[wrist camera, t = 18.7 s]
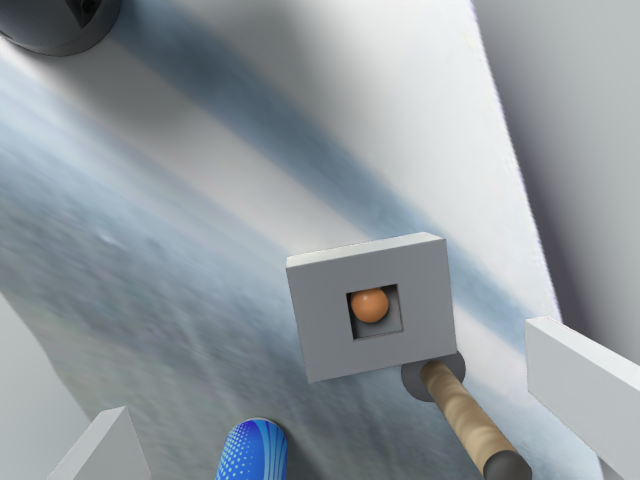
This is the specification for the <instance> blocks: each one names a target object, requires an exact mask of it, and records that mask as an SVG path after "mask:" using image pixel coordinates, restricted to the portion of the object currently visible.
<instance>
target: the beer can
mask: <svg viewBox="0 0 640 480" xmlns="http://www.w3.org/2000/svg"><path fill="white" fill-rule="evenodd" d="M286 463H287V440H286V437H285V435H284V433H283V431H282V430H281V429H280V428H279V427H278V426H277V425H276V424H275V423H274V422H272V421H271V420H269V419H266V418H260V417H256V418H250V419H247V420H245V421H243V422H242V423H240V424H238V425H237V426H235V427H234V428H233V429H232V430H231V431H230V433H229V434H228V436H227V438H226V441H225V445H224V448H223V452H222V455H221V459H220V463H219V466H218V470H217V474H216V477H215V480H286Z"/></svg>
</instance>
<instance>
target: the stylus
mask: <svg viewBox="0 0 640 480" xmlns="http://www.w3.org/2000/svg"><path fill="white" fill-rule="evenodd" d="M420 378H421V381H422V382H423V384H424V385H425V387H426V388H427V390H428V392H429V393H430V395H431V396H432V398H433V399H434V401H435V402H436V404H437V406H438V407H439V409H440V410H441V412H442V413H443V415H444V416H445V418H446V420H447V421H448V423H449V424H450V426H451V427H452V429H453V431H454V432H455V434H456V435H457V437H458V438H459V440H460V441H461V443H462V445H463V446H464V448H465V449H466V451H467V452H468V454H469V455H470V457H471V459H472V460H473V462H474V463H475V465H476V466H477V468H478V470H479V471H480V473H481V474H482V476H483V477H484V479H485V480H532V470H531V468H530V466H529V465H528V464H527V462H526V461H525V460H524V459H523V458H522V456H521V455H520V454H519V453H518V452H517V450H516V449H515V448H514V447H513V446H512V444H511V443H510V442H509V441H508V440H507V438H506V437H505V436H504V435H503V434H502V432H501V431H500V430H499V429H498V428H497V426H496V425H495V424H494V423H493V421H492V420H491V419H490V418H489V417H488V415H487V414H486V413H485V412H484V411H483V409H482V408H481V407H480V406H479V405H478V403H477V402H476V401H475V400H474V399H473V397H472V396H471V395H470V394H469V393H468V391H467V390H466V389H465V388H464V387H463V385H462V384H461V383H460V382H459V381H458V379H457V378H456V377H455V376H454V375H453V373H452V372H451V371H450V370H449V369H448V367H447V366H446V365H445V364H444V363H443V362H441V361H437V360H434V361H430V362H428V363H426V364H425V365H424V366H423V367H422V369H421V372H420Z"/></svg>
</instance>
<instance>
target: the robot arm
mask: <svg viewBox="0 0 640 480" xmlns="http://www.w3.org/2000/svg"><path fill="white" fill-rule="evenodd" d="M120 4H121V0H0V36H2V37H4V38H6V39H8V40H10V41H12V42H13V43H15V44H17V45H19V46H21V47H23V48H25V49H28V50H30V51H33V52H36V53H40V54H44V55H51V56H66V55H72V54H76V53H80V52H82V51H85V50H87V49H89V48H91V47H92V46H94V45H95V44H97V43H98V42H99V41H100V40H102V39H103V38H104V37H105V35H106V34H107V33H108V32H109V30H110V29H111V27H112V26H113V24H114V22H115V20H116V18H117V15H118V12H119V9H120ZM525 341H526V362H527V384H528V392H529V393H530V394H531V395H532V396H533V397H535V398H536V399H537V400H538V401H539V402H540V403H541V404H542V405H543V406H544V407H546V408H547V409H548V410H549V411H550V412H551V413H552V414H553V415H554V416H555V417H557V418H558V419H559V420H560V421H561V422H562V423H563V424H564V425H565V426H566V427H567V428H569V429H570V430H571V431H572V432H573V433H574V434H575V435H576V436H577V437H578V438H580V439H581V440H582V441H583V442H584V443H585V444H586V445H587V446H588V447H589V448H591V449H592V450H593V451H594V452H595V453H596V454H597V455H598V456H599V457H600V458H602V459H603V460H604V461H605V462H606V463H607V464H608V465H609V466H610V467H611V468H613V469H614V470H615V471H616V472H617V473H618V474H619V475H620V476H622V478H624V479H625V480H640V366H638V365H636V364H634V363H633V362H631V361H629V360H627V359H625V358H623V357H622V356H620V355H618V354H616V353H614V352H613V351H611V350H609V349H607V348H605V347H603V346H602V345H600V344H598V343H596V342H594V341H592V340H590V339H589V338H587V337H585V336H583V335H581V334H579V333H578V332H576V331H574V330H572V329H570V328H568V327H567V326H565V325H563V324H561V323H559V322H557V321H556V320H554V319H552V318H550V317H548V316H541V317H537V318H532V319H527V320H525ZM150 479H151V474H150V471H149V468H148V466H147V463H146V460H145V457H144V454H143V452H142V449H141V446H140V443H139V441H138V438H137V435H136V432H135V429H134V427H133V424H132V421H131V418H130V416H129V413H128V410H127V407H126V406H124V407H119V408H115V409H110V410H105V411H101V412H100V413H99V415H98V416H97V417H96V418H95V420H94V421H93V422H92V423H91V425H90V426H89V427H88V428H87V430H86V431H85V432H84V433H83V434H82V436H81V437H80V438H79V439H78V441H77V442H76V443H75V444H74V446H73V447H72V448H71V449H70V450H69V452H68V453H67V454H66V455H65V457H64V458H63V459H62V460H61V462H60V463H59V464H58V465H57V466H56V468H55V469H54V470H53V471H52V473H51V474H50V475H49V476H48V478H47V479H46V480H150Z"/></svg>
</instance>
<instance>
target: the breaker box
mask: <svg viewBox="0 0 640 480" xmlns="http://www.w3.org/2000/svg"><path fill="white" fill-rule="evenodd" d="M286 272H287V278H288V283H289V288H290V293H291V298H292V303H293V308H294V313H295V318H296V323H297V328H298V333H299V338H300V343H301V348H302V354H303V359H304V364H305V369H306V374H307V379H308V383H312V382H317V381H322V380H327V379H332V378H337V377H342V376H347V375H352V374H357V373H362V372H367V371H371V370H376V369H381V368H386V367H391V366H396V365H401V364H406V363H411V362H416V361H421V360H426V359H431V358H436V357H440V356H445V355H450V354H455V353H457V348H456V338H455V328H454V318H453V307H452V297H451V287H450V277H449V267H448V256H447V246H446V239H443V238H441V237H438V236H435V235H432V234H430V233H427V232H419V233H413V234H408V235H402V236H397V237H392V238H386V239H381V240H375V241H370V242H364V243H359V244H353V245H348V246H343V247H337V248H332V249H326V250H321V251H315V252H310V253H305V254H299V255H294V256H288V257H287V263H286ZM392 284H396V285H397V292H398V300H399V308H400V315H401V323H402V330H399V331H394V332H389V333H384V334H379V335H374V336H368V337H363V338H358V339H353V335H352V329H351V323H350V317H349V311H348V305H347V299H346V293H350V292H355V291H360V290H366V289H371V288H376V287H381V286H387V285H392Z"/></svg>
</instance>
